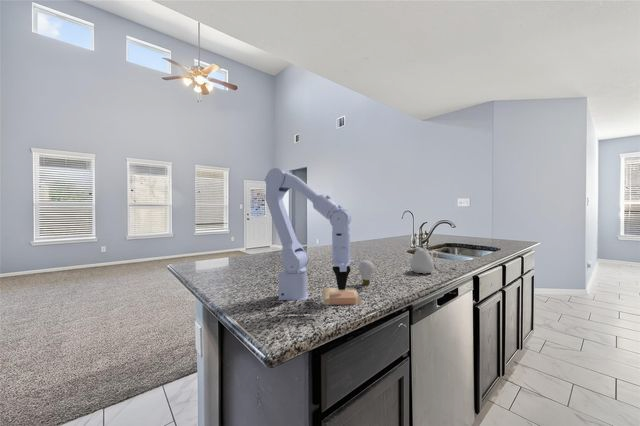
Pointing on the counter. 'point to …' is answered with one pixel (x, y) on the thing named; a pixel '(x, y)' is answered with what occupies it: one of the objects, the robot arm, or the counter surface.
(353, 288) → the mat
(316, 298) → the counter surface
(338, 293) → the tile
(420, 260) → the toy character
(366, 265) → the light bulb
